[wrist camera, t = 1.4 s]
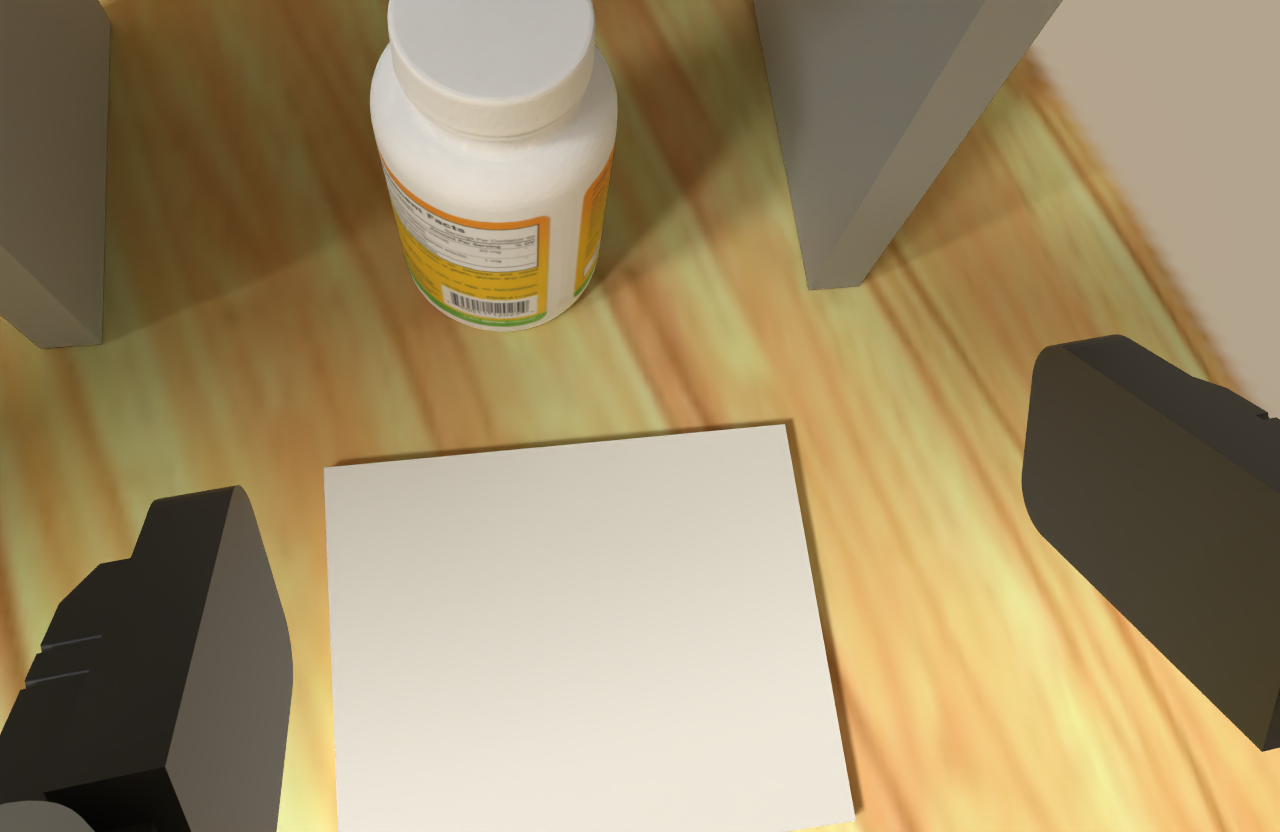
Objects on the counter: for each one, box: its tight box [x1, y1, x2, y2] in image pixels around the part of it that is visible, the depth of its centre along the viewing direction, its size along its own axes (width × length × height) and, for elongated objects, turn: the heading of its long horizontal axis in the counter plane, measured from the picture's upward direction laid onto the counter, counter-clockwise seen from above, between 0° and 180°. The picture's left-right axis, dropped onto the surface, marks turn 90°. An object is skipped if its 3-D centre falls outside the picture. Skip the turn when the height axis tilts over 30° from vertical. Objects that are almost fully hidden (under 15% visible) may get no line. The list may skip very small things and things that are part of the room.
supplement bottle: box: [370, 0, 618, 332], centre depth 24 cm, size 5×5×10 cm
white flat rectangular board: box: [324, 424, 856, 832], centre depth 26 cm, size 12×10×1 cm
